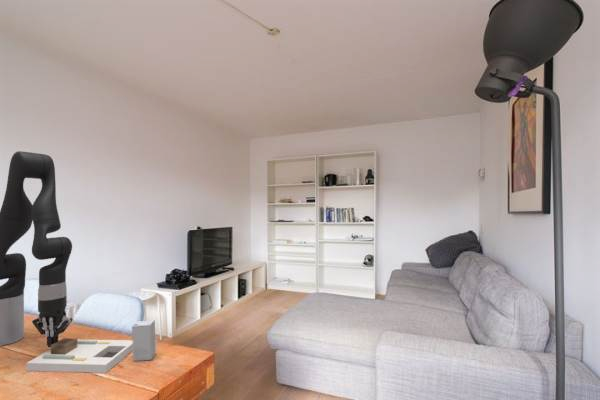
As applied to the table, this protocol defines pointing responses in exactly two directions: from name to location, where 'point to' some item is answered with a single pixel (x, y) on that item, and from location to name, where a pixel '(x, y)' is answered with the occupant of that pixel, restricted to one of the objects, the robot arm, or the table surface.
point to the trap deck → (84, 357)
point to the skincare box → (143, 340)
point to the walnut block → (64, 346)
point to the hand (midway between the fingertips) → (52, 346)
